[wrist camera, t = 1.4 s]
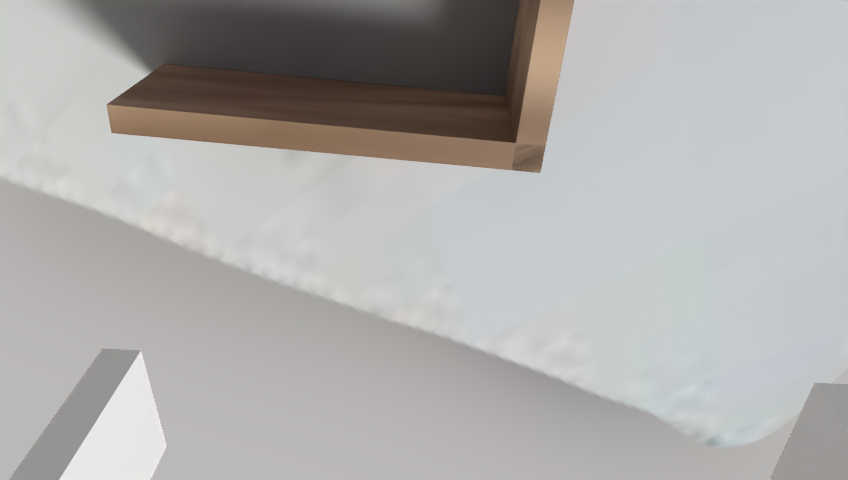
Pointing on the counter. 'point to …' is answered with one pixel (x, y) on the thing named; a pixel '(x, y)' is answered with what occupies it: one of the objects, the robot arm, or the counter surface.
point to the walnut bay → (364, 107)
